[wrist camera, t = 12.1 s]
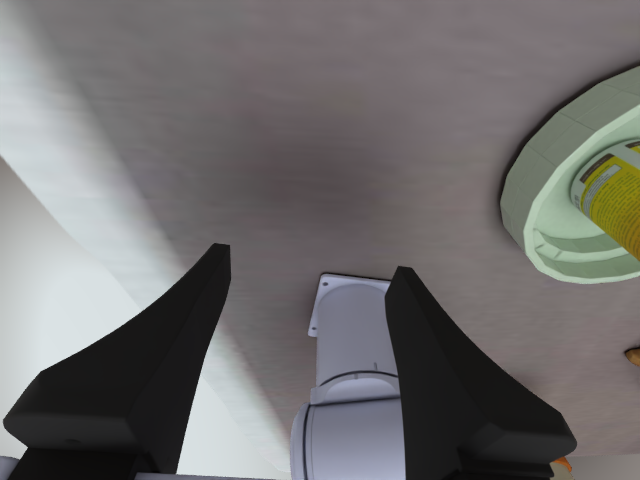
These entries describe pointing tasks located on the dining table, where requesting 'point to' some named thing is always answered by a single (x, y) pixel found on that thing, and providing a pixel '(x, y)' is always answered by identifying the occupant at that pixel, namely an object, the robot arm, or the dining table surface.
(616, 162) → the supplement bottle
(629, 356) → the stuffed squirrel
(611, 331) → the dining table surface
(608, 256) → the bowl
